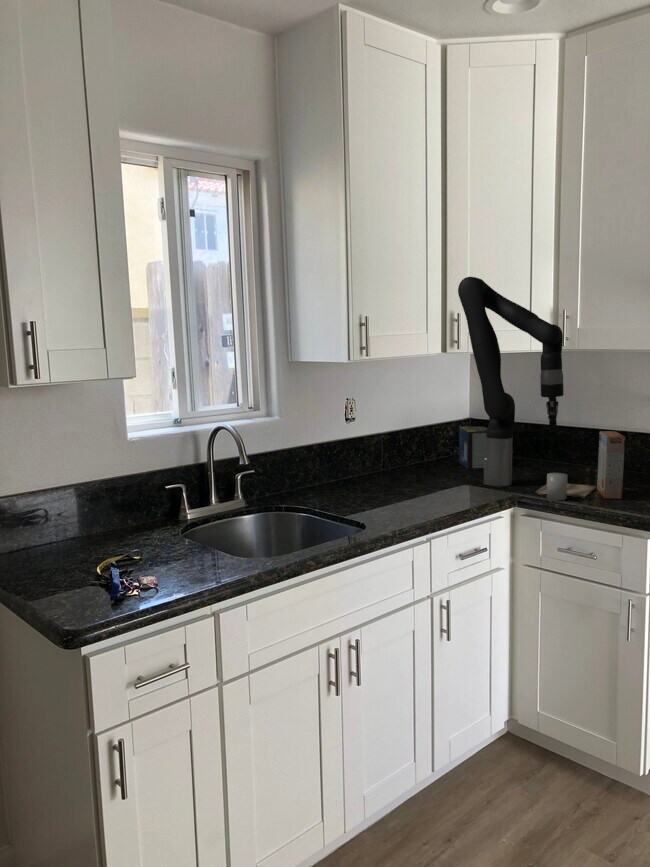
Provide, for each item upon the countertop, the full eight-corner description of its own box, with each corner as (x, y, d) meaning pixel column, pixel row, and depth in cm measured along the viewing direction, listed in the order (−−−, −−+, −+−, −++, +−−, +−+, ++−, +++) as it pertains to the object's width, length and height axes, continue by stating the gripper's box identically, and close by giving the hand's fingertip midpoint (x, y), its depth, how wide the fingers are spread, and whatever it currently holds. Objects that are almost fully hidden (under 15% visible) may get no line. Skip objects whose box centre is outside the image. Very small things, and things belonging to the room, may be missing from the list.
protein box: (482, 462, 308) (483, 426, 305) (492, 468, 292) (493, 430, 290) (458, 462, 307) (458, 426, 305) (467, 469, 292) (467, 431, 290)
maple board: (535, 493, 245) (535, 491, 245) (549, 484, 260) (549, 481, 260) (584, 498, 236) (584, 496, 236) (596, 488, 252) (596, 486, 251)
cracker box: (623, 500, 234) (625, 436, 231) (603, 499, 235) (605, 436, 232) (615, 490, 247) (617, 430, 244) (596, 490, 248) (598, 430, 246)
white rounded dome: (544, 499, 236) (544, 475, 235) (549, 495, 242) (550, 472, 241) (564, 501, 233) (564, 477, 232) (568, 497, 238) (569, 473, 237)
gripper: (541, 382, 256) (542, 427, 258) (539, 384, 243) (541, 432, 244) (563, 381, 254) (564, 426, 255) (563, 383, 240) (564, 431, 242)
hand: (553, 429), depth 250 cm, fingers open, 8 cm apart
